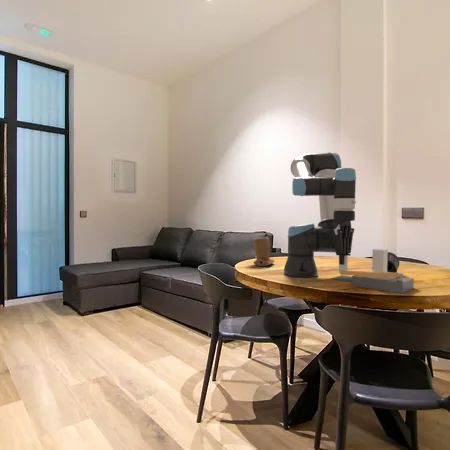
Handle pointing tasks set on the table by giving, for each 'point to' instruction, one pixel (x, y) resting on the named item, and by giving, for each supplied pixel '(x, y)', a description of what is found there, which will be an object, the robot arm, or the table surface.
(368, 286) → the socket block
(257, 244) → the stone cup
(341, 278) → the mat
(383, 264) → the plug
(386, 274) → the tan wooden bar
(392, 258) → the muzzle brake
